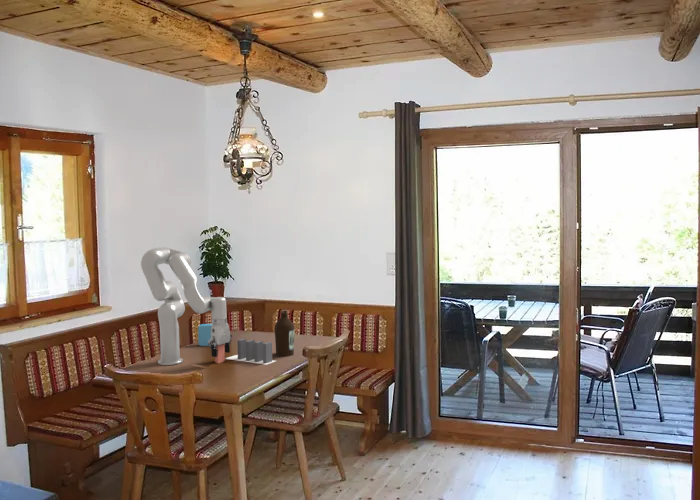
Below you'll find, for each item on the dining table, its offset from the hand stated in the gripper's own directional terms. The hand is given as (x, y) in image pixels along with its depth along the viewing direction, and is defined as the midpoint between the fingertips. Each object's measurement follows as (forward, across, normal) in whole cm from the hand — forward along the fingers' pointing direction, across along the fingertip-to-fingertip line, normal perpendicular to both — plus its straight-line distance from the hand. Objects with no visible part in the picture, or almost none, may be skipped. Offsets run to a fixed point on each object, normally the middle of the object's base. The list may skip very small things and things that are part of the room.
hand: (220, 354), depth 333 cm
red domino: (+5, 0, 0) cm, 5 cm away
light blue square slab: (+5, +31, +36) cm, 47 cm away
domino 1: (+4, +11, -5) cm, 13 cm away
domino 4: (+4, +11, -22) cm, 24 cm away
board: (+5, +11, -10) cm, 16 cm away
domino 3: (+4, +11, -16) cm, 20 cm away
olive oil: (+6, +29, -20) cm, 35 cm away
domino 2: (+4, +11, -10) cm, 16 cm away
